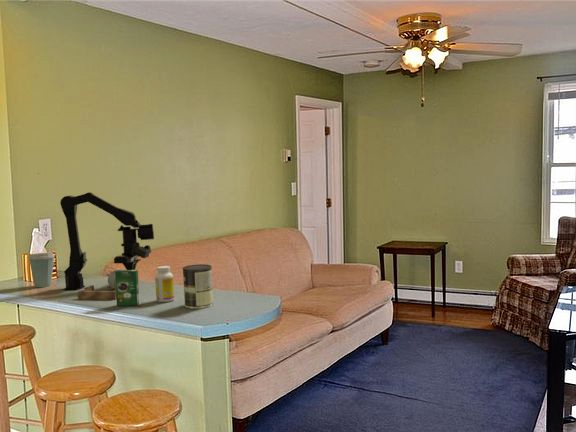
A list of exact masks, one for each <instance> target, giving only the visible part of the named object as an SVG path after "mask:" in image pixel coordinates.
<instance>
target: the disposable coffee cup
mask: <svg viewBox="0 0 576 432" xmlns="http://www.w3.org/2000/svg"><path fill="white" fill-rule="evenodd" d="M55 257H56V256H55V254H54V252H37V253H30V254H29V256H28V260H29V265H30V270H31V275H32V279H33V285H34V287H35V288H47V286H48V287H50V286H51V284H52V281H53V280H52V279H53V272H54V270H53V269H54V264H55V263H54V262H55Z"/></svg>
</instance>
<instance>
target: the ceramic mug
mask: <svg viewBox="0 0 576 432" xmlns="http://www.w3.org/2000/svg"><path fill="white" fill-rule="evenodd" d="M115 271H116V270H113V271H112V272H110V273H109V274H108V276H107V283H108V285H109V287H111V289H114V290H116V278H115Z"/></svg>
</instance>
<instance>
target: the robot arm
mask: <svg viewBox="0 0 576 432" xmlns="http://www.w3.org/2000/svg"><path fill="white" fill-rule="evenodd" d="M84 203H85V204H86V203H89V204H91V205H92V206H95V207H97V208H99V209H100V210H103V211H104V212H106V213H107V214H110V215H111V216H113V217H114V218H115V219H116V220H117V221H119V222H120V223H121V225H120V227H118V229H117V231H118V232H122V243H120V246H121V247H122V248H123V252H122V253H121V255H117V256H115V257H114V258H113V264H122V265H123V266H124V269H125V270H136V267H137V265H138V263H139V262H141V261H142V260H141V258H142V259H146V258H149V256H150V254H151V253H152V251H151V250H152V249H151V245H149V244H146V245H145V246H141V245H140V242H139V241H137V240H138V239H140V241H147V240H148V241H149V240H155V231H154V225H153V223H148V224H141V223H140V222H139V221H138V219H137V217H136V214H135V213H134V212H133V211H130V210H126V209H125V208H121V207H118V206H116V205H114V204H112V203H110V202H108V201H107V200H105V199H103V198H101V197H99V196H97V195H96V194H94V193H93V192H91V191H90V192H88V191H87V192H86V193H83V194H80V195H76V196H73V195H70V194H69V195H65V196H63V197H62V198H61V199H60V206H61V207H60V208H61V210H62V212H63V214H64V217H65V220H66V227H67V234H68V242H69V248H70V252H69V261H68V262H69V264H68V267H67V268H66V269H65V270H64V271H63V273H64V282H65V287H63V290H65V291H66V290H67V291H68V290H69V291H77V290H78V291H79V290H81V289H83V288H86V285H84V277H83V273H81V272H82V270H83V269H84V268H85V266H86V265H87V262H88V259H87V252H86V251H83V250H82V248H81V242H80V235H79V228H78V221H77V214H78V205H80V204H81V205H82V204H84ZM122 224H123V225H122ZM137 238H138V239H137ZM139 257H140V258H139Z"/></svg>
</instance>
